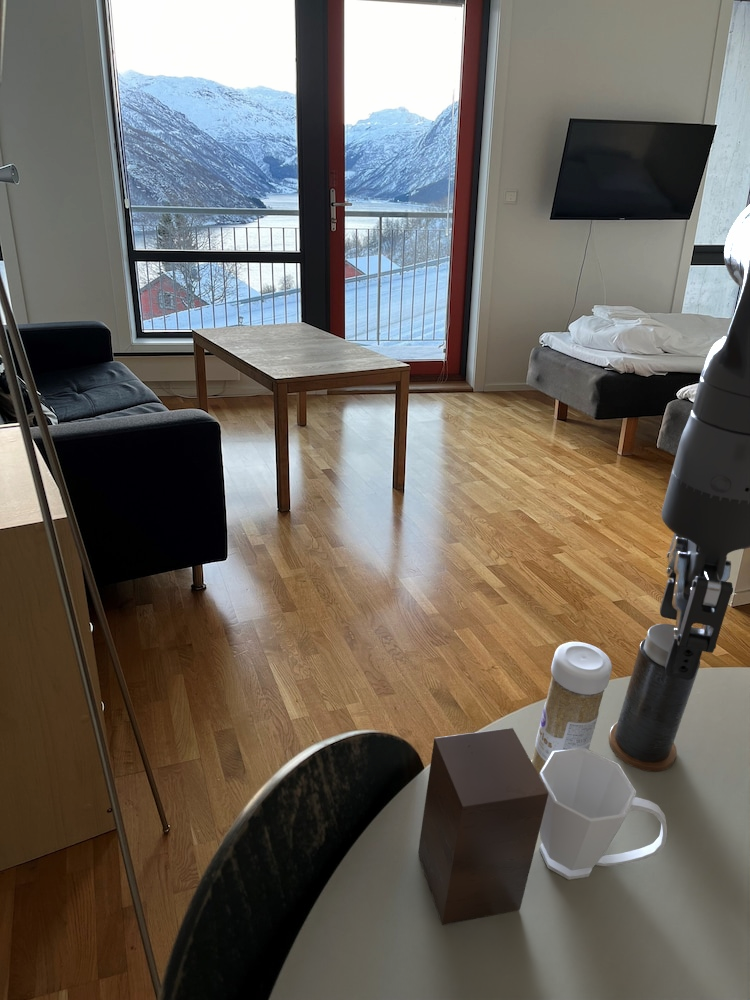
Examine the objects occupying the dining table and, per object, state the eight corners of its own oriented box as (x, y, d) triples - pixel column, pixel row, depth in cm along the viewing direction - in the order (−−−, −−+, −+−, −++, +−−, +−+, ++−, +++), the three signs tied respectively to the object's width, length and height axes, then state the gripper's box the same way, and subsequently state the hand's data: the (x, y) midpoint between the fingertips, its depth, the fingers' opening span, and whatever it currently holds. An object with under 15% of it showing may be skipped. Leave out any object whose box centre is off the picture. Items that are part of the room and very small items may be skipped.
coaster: (651, 720, 72) (653, 715, 72) (688, 766, 67) (690, 762, 67) (597, 727, 71) (598, 722, 71) (630, 776, 66) (631, 771, 65)
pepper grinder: (650, 720, 71) (682, 619, 66) (681, 758, 67) (717, 654, 62) (604, 726, 70) (633, 624, 65) (632, 766, 66) (665, 660, 60)
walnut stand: (489, 839, 59) (512, 727, 53) (520, 910, 54) (549, 793, 48) (417, 852, 57) (434, 737, 52) (442, 925, 52) (462, 807, 47)
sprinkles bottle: (520, 760, 66) (546, 640, 60) (568, 756, 67) (598, 638, 61) (538, 801, 62) (568, 677, 56) (588, 797, 63) (623, 674, 57)
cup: (523, 809, 62) (539, 738, 58) (646, 835, 60) (671, 763, 56) (521, 884, 55) (540, 810, 52) (659, 915, 54) (687, 840, 50)
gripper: (798, 525, 49) (731, 710, 57) (762, 448, 61) (711, 608, 69) (680, 505, 51) (630, 687, 58) (668, 434, 63) (628, 592, 71)
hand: (674, 644), depth 64 cm, fingers open, 8 cm apart
